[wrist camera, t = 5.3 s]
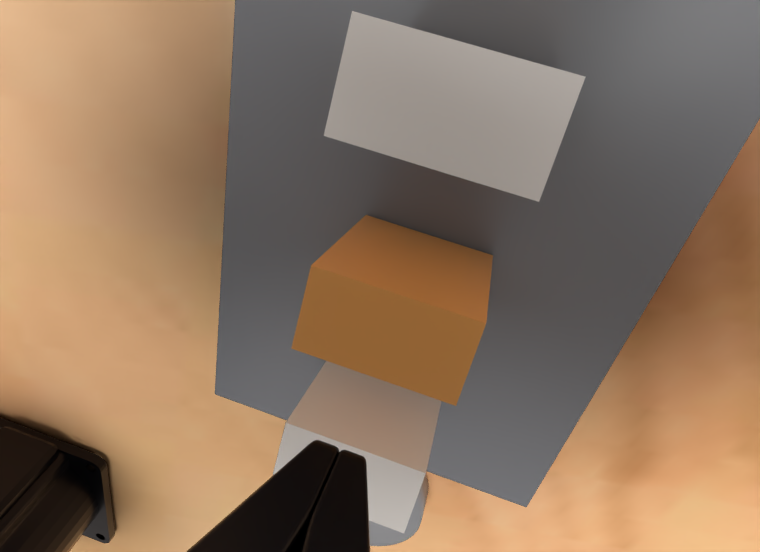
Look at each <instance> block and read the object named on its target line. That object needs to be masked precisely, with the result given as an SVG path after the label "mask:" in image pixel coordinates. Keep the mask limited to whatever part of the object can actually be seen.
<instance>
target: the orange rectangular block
mask: <svg viewBox="0 0 760 552" xmlns="http://www.w3.org/2000/svg"><path fill="white" fill-rule="evenodd" d="M492 261H493V255H490V254H487V253H484V252H481V251H478V250H475V249H471V248H468V247H465V246H462V245H459V244H456V243H453V242H450V241H446V240H443V239H440V238H437V237H434V236H431V235H428V234H424V233H421V232H418V231H415V230H412V229H409V228H406V227H403V226H399V225H396V224H393V223H390V222H387V221H384V220H381V219H377V218H374V217H371V216H368V215H365V216H364V217H363V218H362V219H361V220H360V221H359V222H358V223H357V224H355V225H354V226H353V227H352V228H351V229H350V230H349V231H348V232H347V233H346V234H345V235H343V236H342V237H341V238H340V239H339V240H338V241H337V242H336V243H335V244H334V245H333V246H332V247H330V248H329V249H328V250H327V251H326V252H325V253H324V254H323V255H322V256H321V257H320V258H319V259H317V260H316V261H315V262H314V263H313V264H312V265H311V268H310V272H309V276H308V280H307V285H306V289H305V293H304V297H303V301H302V306H301V310H300V314H299V318H298V322H297V326H296V331H295V335H294V339H293V343H292V347H291V349H294V350H297V351H300V352H303V353H306V354H308V355H311V356H314V357H317V358H320V359H323V360H326V361H328V362H331V363H334V364H337V365H340V366H343V367H346V368H349V369H351V370H354V371H357V372H360V373H363V374H366V375H369V376H371V377H374V378H377V379H380V380H383V381H386V382H389V383H391V384H394V385H397V386H400V387H403V388H406V389H409V390H412V391H414V392H417V393H420V394H423V395H426V396H429V397H432V398H434V399H437V400H440V401H443V402H446V403H449V404H452V405H454V406H456V404H457V402H458V399H459V396H460V394H461V391H462V388H463V385H464V383H465V380H466V377H467V375H468V372H469V369H470V366H471V364H472V361H473V358H474V356H475V353H476V350H477V347H478V345H479V342H480V339H481V336H482V334H483V331H484V328H485V326H486V321H487V311H488V301H489V291H490V281H491V271H492Z"/></svg>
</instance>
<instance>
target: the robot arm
mask: <svg viewBox="0 0 760 552" xmlns="http://www.w3.org/2000/svg"><path fill="white" fill-rule="evenodd" d="M81 535H85V536H87V537H90V538H92V539H95V540H97V541H100V542H102V543H109V542H110V541H111V539H112V538H113V536H114V535H115V530H114V521H113V513H112V504H111V495H110V487H109V478H108V469H107V464H106V462H105V460H104V459H103V458H101V457H100V456H98V455H96V454H94V453H91V452H89V451H86V450H84V449H81V448H78V447H76V446H73V445H71V444H68V443H65V442H63V441H60V440H58V439H55V438H52V437H50V436H47V435H45V434H42V433H39V432H37V431H34V430H32V429H29V428H26V427H24V426H21V425H19V424H16V423H13V422H11V421H8V420H5V419H3V418H0V552H69V551H70V550H71V548H72V547H73V546H74V544H75V543H76V542H77V540H78V539H79V538H80V537H81ZM187 552H370V536H369V512H368V487H367V464H366V459H365V457H364V456H362V455H359V454H356V453H353V452H351V451H348V450H341V451H340V452H339V449H338V447H336V446H334V445H331V444H329V443H326V442H323V441H320V440H314V441H312V442H311V443H310V444H308V445H307V446H306V447H305V448H304V449H303V450H302V451H300V452H299V453H298V454H297V455H296V456H295V457H294V458H293V459H291V460H290V461H289V462H288V463H287V464H286V465H285V466H283V467H282V468H281V469H280V470H279V471H278V472H277V473H275V474H274V475H273V476H272V477H271V478H270V479H269V480H267V481H266V482H265V483H264V484H263V485H262V486H261V487H260V488H258V489H257V490H256V491H255V492H254V493H253V494H252V495H250V496H249V497H248V498H247V499H246V500H245V501H244V502H242V503H241V504H240V505H239V506H238V507H237V508H236V509H234V510H233V511H232V512H231V513H230V514H229V515H228V516H227V517H225V518H224V519H223V520H222V521H221V522H220V523H219V524H217V525H216V526H215V527H214V528H213V529H212V530H211V531H209V532H208V533H207V534H206V535H205V536H204V537H203V538H201V539H200V540H199V541H198V542H197V543H196V544H195V545H194V546H192V547H191V548H190V549H189V550H188V551H187Z"/></svg>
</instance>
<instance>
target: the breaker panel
mask: <svg viewBox="0 0 760 552" xmlns="http://www.w3.org/2000/svg"><path fill="white" fill-rule="evenodd" d="M352 11H354V12H358V13H361V14H365V15H368V16H372V17H375V18H379V19H383V20H386V21H390V22H393V23H397V24H400V25H404V26H407V27H411V28H414V29H418V30H422V31H425V32H429V33H432V34H436V35H439V36H443V37H446V38H450V39H454V40H457V41H461V42H464V43H468V44H471V45H475V46H478V47H482V48H486V49H489V50H493V51H496V52H500V53H503V54H507V55H510V56H514V57H517V58H521V59H525V60H528V61H532V62H535V63H539V64H542V65H546V66H549V67H553V68H557V69H560V70H564V71H567V72H571V73H574V74H578V75H581V76H585V80H584V83H583V85H582V88H581V91H580V93H579V96H578V99H577V101H576V104H575V107H574V109H573V112H572V115H571V117H570V120H569V123H568V126H567V128H566V131H565V134H564V136H563V139H562V142H561V144H560V147H559V150H558V152H557V155H556V158H555V160H554V163H553V166H552V168H551V171H550V174H549V177H548V179H547V182H546V185H545V187H544V190H543V193H542V195H541V198H540V201H539V202H538V201H535V200H531V199H528V198H525V197H521V196H518V195H515V194H512V193H508V192H505V191H502V190H499V189H495V188H492V187H489V186H486V185H482V184H479V183H476V182H473V181H469V180H466V179H463V178H460V177H456V176H453V175H450V174H447V173H443V172H440V171H437V170H433V169H430V168H427V167H424V166H420V165H417V164H414V163H411V162H407V161H404V160H401V159H398V158H394V157H391V156H388V155H385V154H381V153H378V152H375V151H372V150H368V149H365V148H362V147H359V146H355V145H352V144H349V143H345V142H342V141H339V140H336V139H332V138H329V137H326V136H324V132H325V127H326V123H327V119H328V114H329V110H330V106H331V101H332V97H333V92H334V88H335V84H336V79H337V75H338V71H339V66H340V62H341V57H342V53H343V49H344V44H345V40H346V35H347V31H348V27H349V22H350V18H351V14H352ZM759 119H760V0H235V17H234V36H233V56H232V75H231V94H230V113H229V132H228V152H227V171H226V190H225V209H224V229H223V248H222V267H221V286H220V305H219V325H218V344H217V363H216V382H215V394H216V395H219V396H221V397H224V398H227V399H230V400H232V401H235V402H238V403H241V404H243V405H246V406H249V407H252V408H254V409H257V410H260V411H263V412H265V413H268V414H271V415H274V416H276V417H279V418H282V419H285V420H288V418H289V417H290V415H291V414H292V412H293V411H294V409H295V408H296V406H297V405H298V403H299V402H300V400H301V399H302V397H303V396H304V394H305V393H306V391H307V390H308V388H309V386H310V385H311V383H312V382H313V380H314V379H315V377H316V376H317V374H318V373H319V371H320V370H321V368H322V367H323V365H324V364H325V362H326V360H323V359H320V358H317V357H314V356H311V355H308V354H306V353H303V352H300V351H297V350H294V349H291V347H292V343H293V339H294V335H295V331H296V326H297V322H298V318H299V314H300V310H301V306H302V301H303V297H304V293H305V289H306V285H307V280H308V276H309V272H310V268H311V265H312V264H313V263H314V262H315V261H316V260H317V259H319V258H320V257H321V256H322V255H323V254H324V253H325V252H326V251H327V250H328V249H329V248H330V247H332V246H333V245H334V244H335V243H336V242H337V241H338V240H339V239H340V238H341V237H342V236H343V235H345V234H346V233H347V232H348V231H349V230H350V229H351V228H352V227H353V226H354V225H355V224H357V223H358V222H359V221H360V220H361V219H362V218H363V217H364V216H365V215H368V216H371V217H374V218H377V219H381V220H384V221H387V222H390V223H393V224H396V225H399V226H403V227H406V228H409V229H412V230H415V231H418V232H421V233H424V234H428V235H431V236H434V237H437V238H440V239H443V240H446V241H450V242H453V243H456V244H459V245H462V246H465V247H468V248H471V249H475V250H478V251H481V252H484V253H487V254H490V255H493V261H492V271H491V281H490V291H489V301H488V311H487V321H486V326H485V328H484V331H483V334H482V336H481V339H480V342H479V345H478V347H477V350H476V353H475V356H474V358H473V361H472V364H471V366H470V369H469V372H468V375H467V377H466V380H465V383H464V385H463V388H462V391H461V394H460V396H459V399H458V402H457V404H456V406H454V405H452V404H449V403H446V402H443V401H441V406H440V410H439V415H438V419H437V424H436V429H435V433H434V438H433V443H432V447H431V452H430V457H429V461H428V466H427V471H428V472H431V473H433V474H436V475H439V476H442V477H444V478H447V479H450V480H453V481H455V482H458V483H461V484H464V485H466V486H469V487H472V488H475V489H477V490H480V491H483V492H486V493H488V494H491V495H494V496H497V497H499V498H502V499H505V500H508V501H510V502H513V503H516V504H519V505H521V506H524V507H527V505H528V504H529V502H530V500H531V499H532V497H533V495H534V494H535V492H536V490H537V489H538V487H539V485H540V484H541V482H542V480H543V479H544V477H545V475H546V474H547V472H548V470H549V469H550V467H551V465H552V464H553V462H554V460H555V459H556V457H557V455H558V454H559V452H560V450H561V449H562V447H563V445H564V444H565V442H566V440H567V439H568V437H569V435H570V434H571V432H572V430H573V429H574V427H575V425H576V424H577V422H578V420H579V419H580V417H581V415H582V414H583V412H584V410H585V409H586V407H587V405H588V404H589V402H590V400H591V399H592V397H593V395H594V394H595V392H596V390H597V389H598V387H599V385H600V384H601V382H602V380H603V379H604V377H605V375H606V374H607V372H608V370H609V369H610V367H611V365H612V364H613V362H614V360H615V359H616V357H617V355H618V354H619V352H620V350H621V349H622V347H623V345H624V344H625V342H626V340H627V339H628V337H629V335H630V334H631V332H632V330H633V329H634V327H635V325H636V324H637V322H638V320H639V319H640V317H641V315H642V314H643V312H644V310H645V309H646V307H647V305H648V304H649V302H650V300H651V299H652V297H653V295H654V294H655V292H656V290H657V289H658V287H659V285H660V284H661V282H662V280H663V279H664V277H665V275H666V274H667V272H668V270H669V269H670V267H671V265H672V264H673V262H674V260H675V259H676V257H677V255H678V254H679V252H680V250H681V249H682V247H683V245H684V244H685V242H686V240H687V239H688V237H689V235H690V234H691V232H692V230H693V229H694V227H695V225H696V224H697V222H698V220H699V219H700V217H701V215H702V214H703V212H704V210H705V209H706V207H707V205H708V204H709V202H710V200H711V199H712V197H713V195H714V194H715V192H716V190H717V189H718V187H719V185H720V184H721V182H722V180H723V179H724V177H725V175H726V174H727V172H728V170H729V169H730V167H731V165H732V164H733V162H734V160H735V159H736V157H737V155H738V154H739V152H740V150H741V149H742V147H743V145H744V144H745V142H746V140H747V139H748V137H749V135H750V134H751V132H752V130H753V129H754V127H755V125H756V124H757V122H758V120H759Z"/></svg>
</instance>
